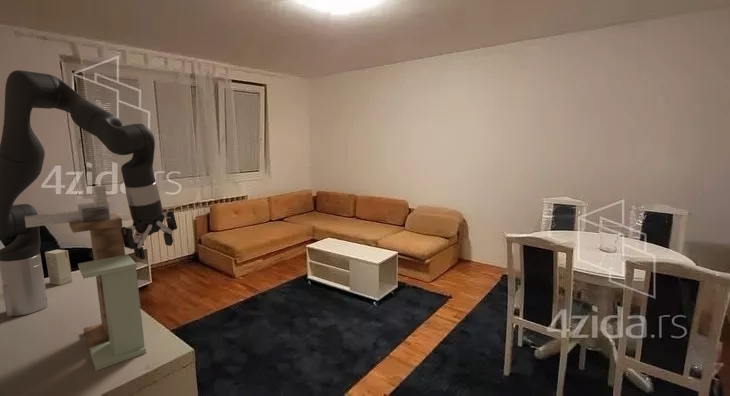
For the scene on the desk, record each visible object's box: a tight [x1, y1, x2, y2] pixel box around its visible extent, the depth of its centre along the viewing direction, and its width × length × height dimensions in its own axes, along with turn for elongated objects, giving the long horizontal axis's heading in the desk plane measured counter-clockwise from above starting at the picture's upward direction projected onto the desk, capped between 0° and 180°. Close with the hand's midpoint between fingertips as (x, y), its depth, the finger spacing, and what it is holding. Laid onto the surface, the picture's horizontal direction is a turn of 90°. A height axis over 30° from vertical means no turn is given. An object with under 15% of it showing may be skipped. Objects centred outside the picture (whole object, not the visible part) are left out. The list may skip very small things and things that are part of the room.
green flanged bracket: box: [77, 254, 147, 371], centre depth 85 cm, size 10×10×23 cm
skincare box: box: [44, 249, 73, 286], centre depth 131 cm, size 6×4×12 cm
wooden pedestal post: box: [68, 207, 126, 348], centre depth 93 cm, size 10×10×35 cm
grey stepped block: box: [25, 185, 111, 228], centre depth 87 cm, size 16×4×8 cm, turn 134°
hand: (155, 251), depth 101 cm, fingers open, 8 cm apart
